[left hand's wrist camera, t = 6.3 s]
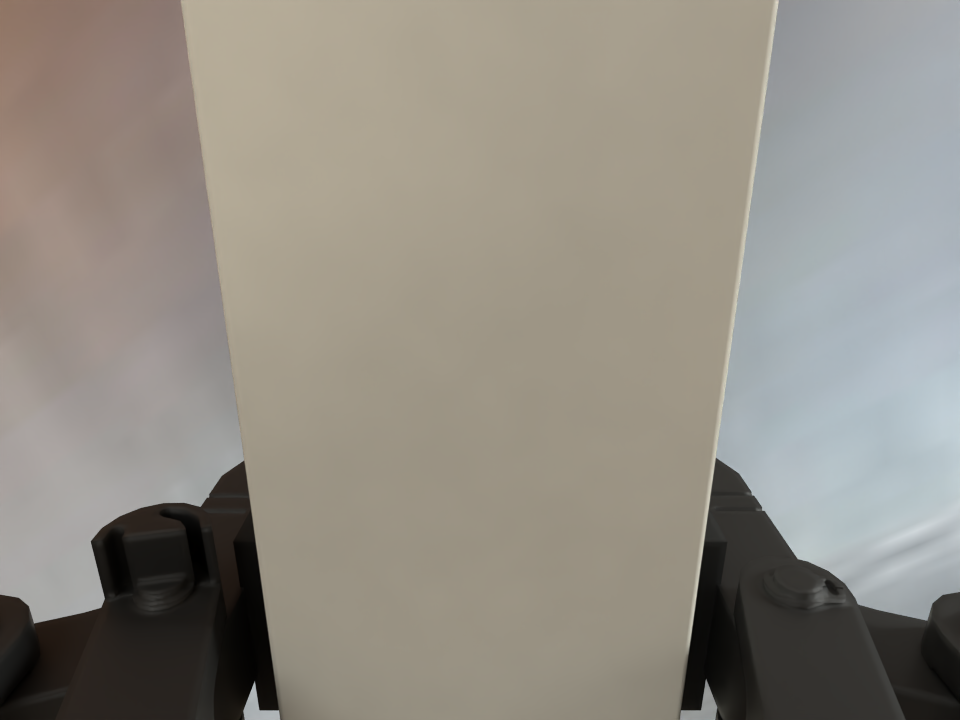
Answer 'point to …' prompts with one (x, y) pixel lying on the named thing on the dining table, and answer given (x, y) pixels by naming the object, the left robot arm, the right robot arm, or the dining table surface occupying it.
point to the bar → (479, 336)
